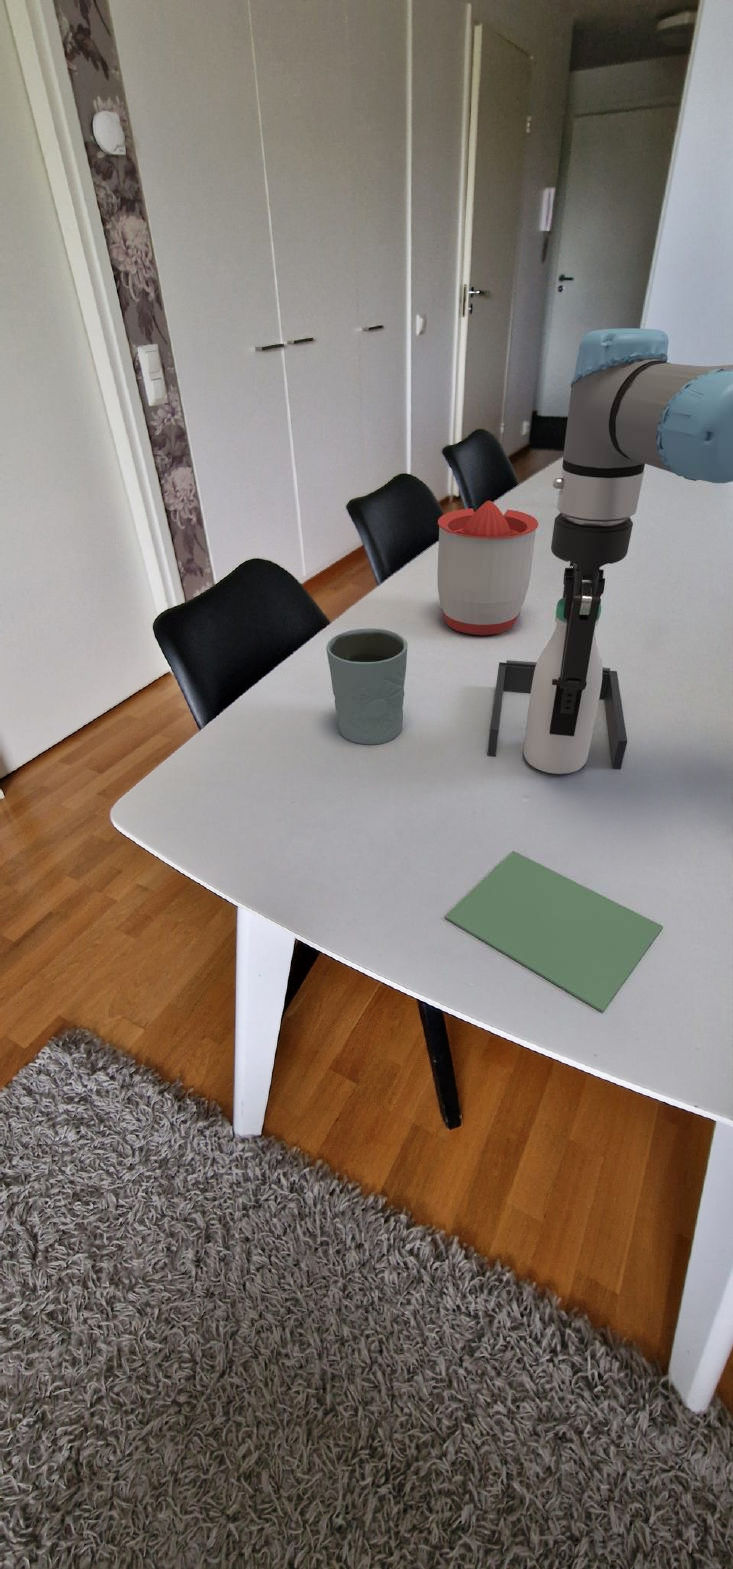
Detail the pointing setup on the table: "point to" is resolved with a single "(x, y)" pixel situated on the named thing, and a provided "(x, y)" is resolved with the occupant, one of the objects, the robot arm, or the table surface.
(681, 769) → the table surface
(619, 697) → the dark grey u-shaped frame
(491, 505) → the citrus juicer
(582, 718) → the milk bottle
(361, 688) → the grey-green cup
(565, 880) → the mat
